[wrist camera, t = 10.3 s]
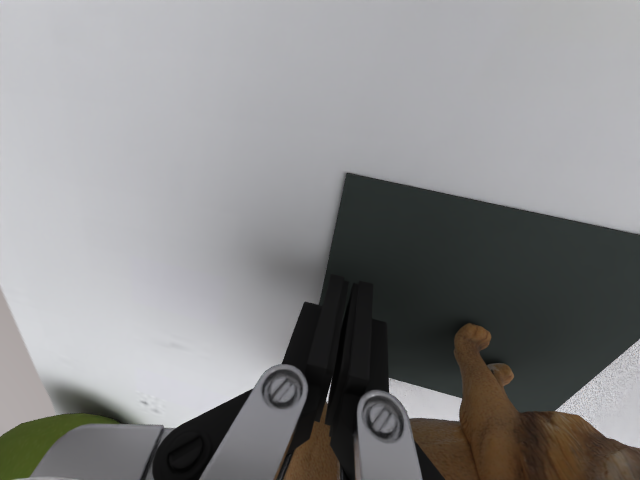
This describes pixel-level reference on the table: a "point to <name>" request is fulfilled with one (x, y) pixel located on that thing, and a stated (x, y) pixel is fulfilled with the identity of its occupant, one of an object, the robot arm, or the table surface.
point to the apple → (37, 441)
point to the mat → (488, 287)
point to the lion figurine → (492, 434)
